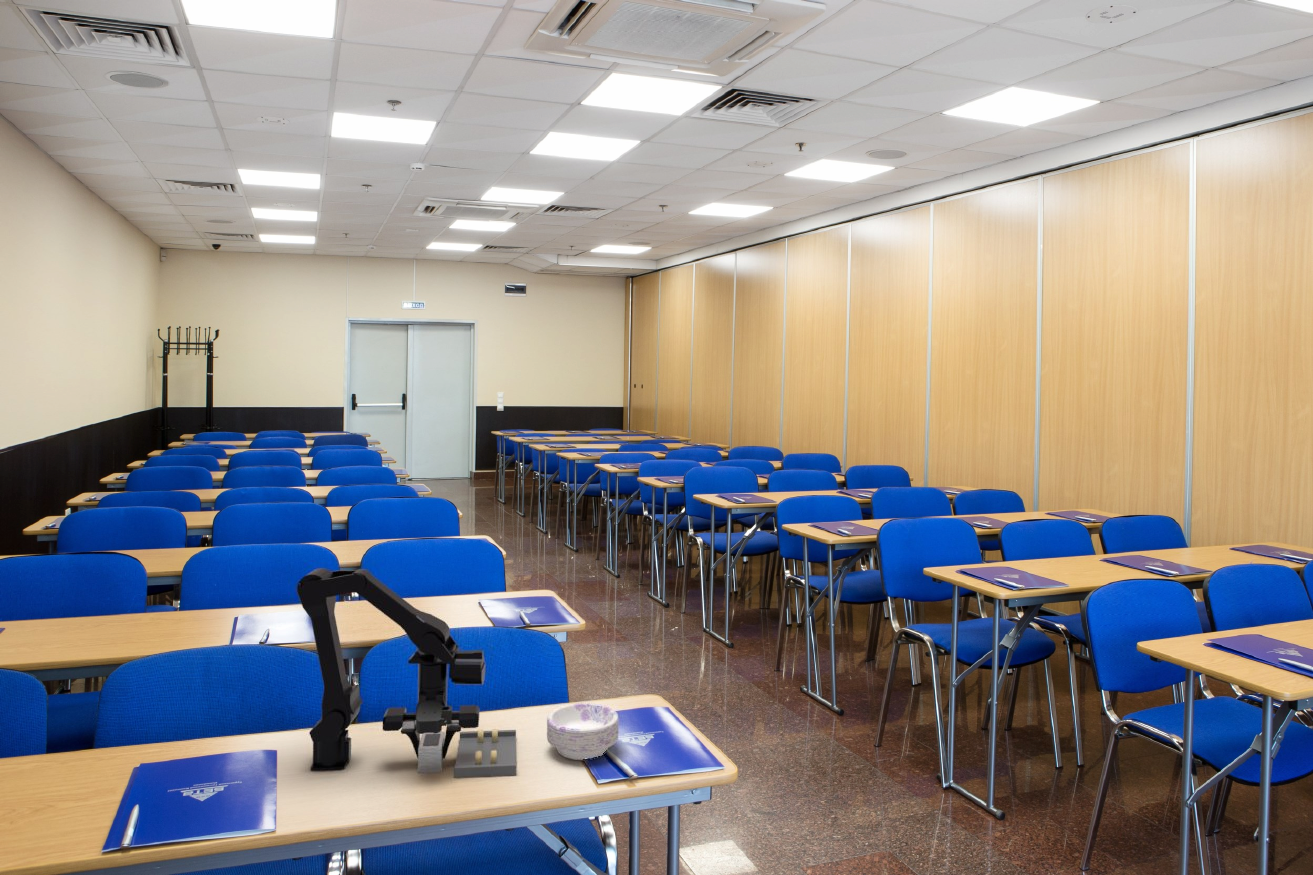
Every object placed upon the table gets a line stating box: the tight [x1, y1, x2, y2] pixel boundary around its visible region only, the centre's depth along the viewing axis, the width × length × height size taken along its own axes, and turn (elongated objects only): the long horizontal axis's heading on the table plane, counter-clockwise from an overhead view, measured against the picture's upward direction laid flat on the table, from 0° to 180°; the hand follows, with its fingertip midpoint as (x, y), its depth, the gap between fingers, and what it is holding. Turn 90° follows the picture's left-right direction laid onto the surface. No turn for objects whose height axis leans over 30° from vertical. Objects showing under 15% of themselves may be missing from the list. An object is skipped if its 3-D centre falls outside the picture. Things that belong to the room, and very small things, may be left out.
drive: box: [417, 731, 446, 774], centre depth 175 cm, size 4×8×5 cm, turn 10°
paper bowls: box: [546, 702, 620, 761], centre depth 183 cm, size 15×15×8 cm
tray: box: [453, 728, 517, 779], centre depth 179 cm, size 12×18×4 cm, turn 9°
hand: (431, 758), depth 175 cm, fingers closed on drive, 4 cm apart
